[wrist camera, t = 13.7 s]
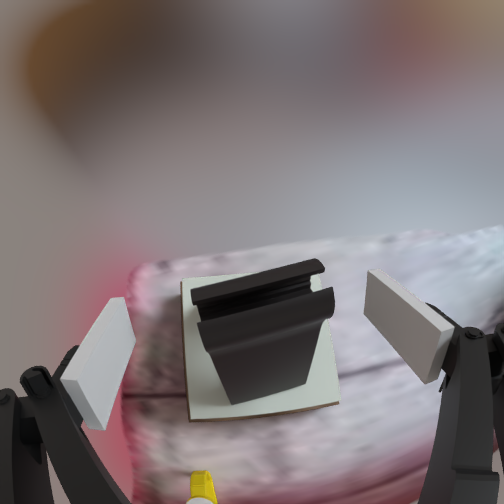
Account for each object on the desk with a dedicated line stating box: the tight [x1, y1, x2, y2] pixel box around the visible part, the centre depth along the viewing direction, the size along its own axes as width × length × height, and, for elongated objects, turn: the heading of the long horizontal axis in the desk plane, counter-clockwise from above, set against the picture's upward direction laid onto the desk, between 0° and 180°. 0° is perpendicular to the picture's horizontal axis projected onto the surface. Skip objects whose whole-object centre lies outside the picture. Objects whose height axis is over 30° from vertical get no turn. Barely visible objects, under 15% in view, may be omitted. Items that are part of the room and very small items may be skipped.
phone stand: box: [190, 259, 335, 405], centre depth 17 cm, size 9×6×12 cm, turn 15°
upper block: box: [182, 272, 341, 419], centre depth 25 cm, size 12×12×4 cm
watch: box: [186, 470, 217, 504], centre depth 20 cm, size 6×3×6 cm, turn 10°
